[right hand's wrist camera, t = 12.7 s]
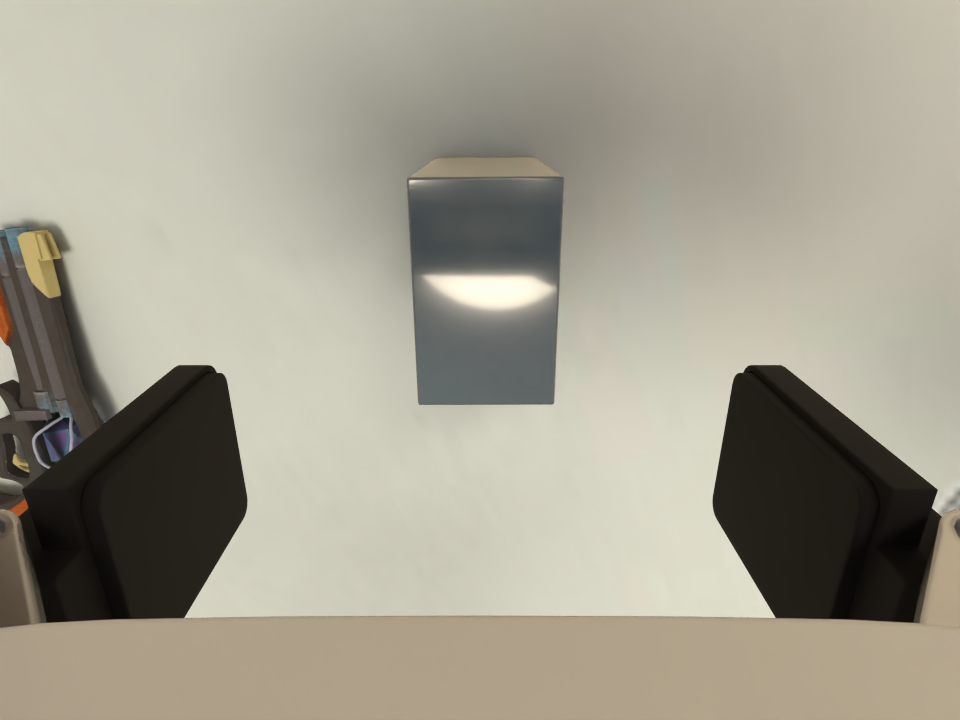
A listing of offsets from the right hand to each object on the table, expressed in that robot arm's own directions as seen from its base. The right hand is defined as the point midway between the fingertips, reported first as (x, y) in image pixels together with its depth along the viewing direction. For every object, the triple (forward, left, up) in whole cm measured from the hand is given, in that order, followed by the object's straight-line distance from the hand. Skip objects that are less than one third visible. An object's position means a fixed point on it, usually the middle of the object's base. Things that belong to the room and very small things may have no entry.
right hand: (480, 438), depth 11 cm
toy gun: (+27, -3, -20) cm, 34 cm away
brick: (0, 0, -20) cm, 20 cm away
